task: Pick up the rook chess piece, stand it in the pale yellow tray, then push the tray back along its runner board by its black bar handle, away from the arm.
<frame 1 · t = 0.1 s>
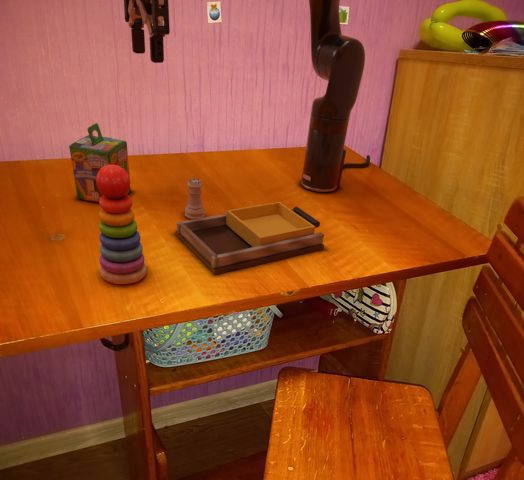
hand: (147, 57, 88), 29 cm above the table, tool pointing down, fingers open, 8 cm apart
rook chess piece: (194, 217, 106), on the table
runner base: (249, 242, 99), on the table
chalk box: (105, 196, 110), on the table
stacking toy: (124, 275, 86), on the table
tray: (276, 224, 100), point 3 cm above the table, slide at 0.0 cm
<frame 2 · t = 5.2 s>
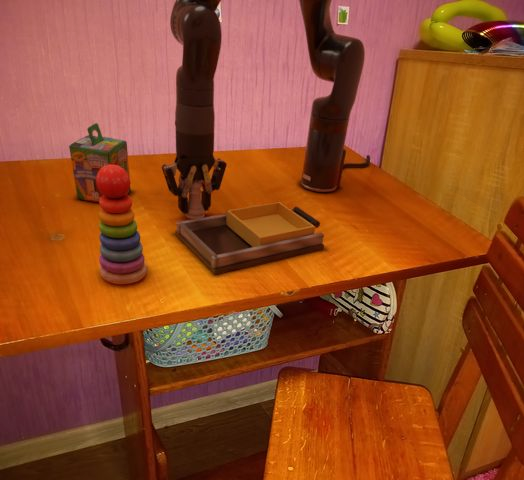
hand: (194, 210, 105), 1 cm above the table, tool pointing down, fingers closed on rook chess piece, 4 cm apart
rook chess piece: (194, 217, 106), on the table, touching gripper
everything else where it was.
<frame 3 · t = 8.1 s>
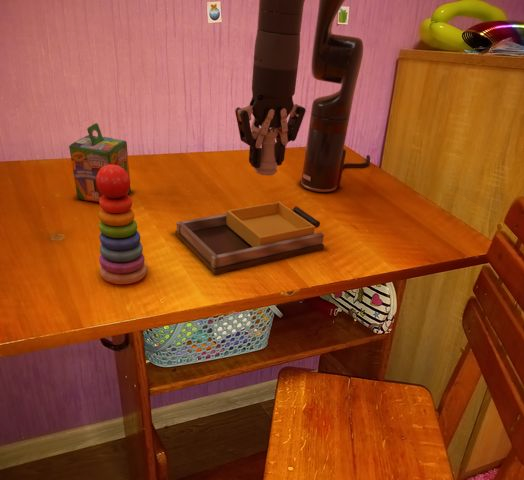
hand: (266, 165, 93), 15 cm above the table, tool pointing down, fingers closed on rook chess piece, 4 cm apart
rook chess piece: (265, 172, 94), point 13 cm above the table, touching gripper
everything else where it was.
when the fingers open (3 cm above the table, at t = 11.2 s): rook chess piece stays where it is, resting on tray.
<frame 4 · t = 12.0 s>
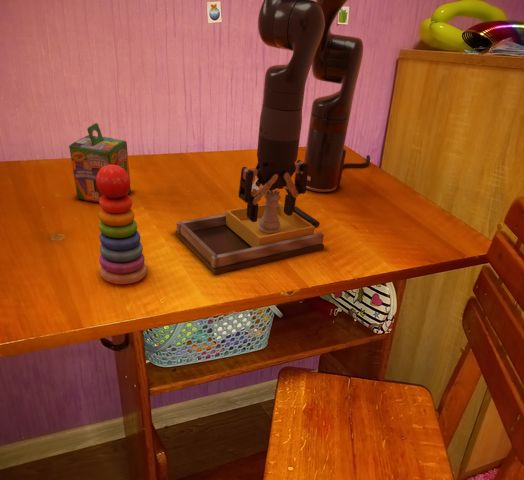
hand: (270, 217, 98), 5 cm above the table, tool pointing down, fingers open, 8 cm apart
rook chess piece: (268, 230, 100), point 2 cm above the table, touching tray
tray: (276, 224, 100), point 3 cm above the table, slide at 0.1 cm, touching rook chess piece
everything else where it was.
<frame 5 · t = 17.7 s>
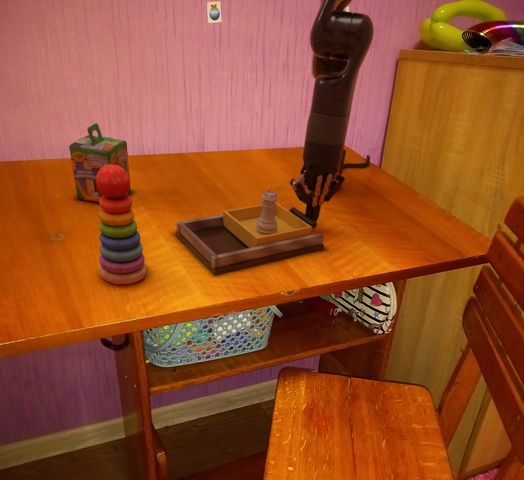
hand: (311, 221, 105), 2 cm above the table, tool pointing down, fingers closed
tray: (273, 224, 100), point 3 cm above the table, slide at 0.8 cm, touching gripper, rook chess piece
everything else where it was.
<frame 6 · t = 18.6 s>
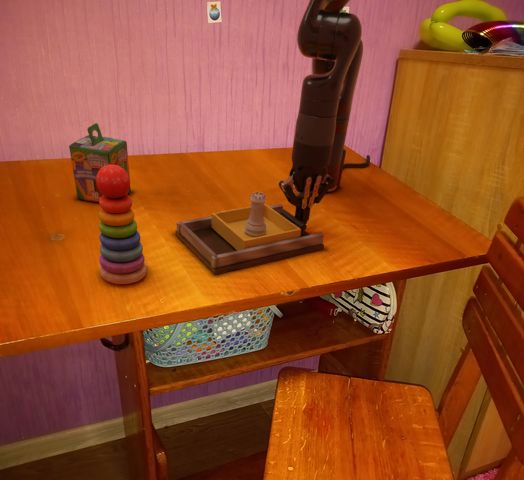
hand: (301, 223, 104), 2 cm above the table, tool pointing down, fingers closed
rook chess piece: (255, 233, 99), point 2 cm above the table, touching tray
tray: (262, 226, 99), point 3 cm above the table, slide at 3.5 cm, touching gripper, rook chess piece
everything else where it was.
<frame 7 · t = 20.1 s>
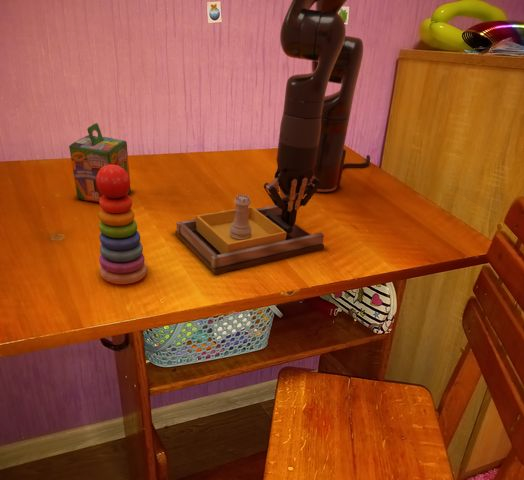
hand: (287, 225, 102), 2 cm above the table, tool pointing down, fingers closed
rook chess piece: (240, 236, 97), point 2 cm above the table, touching tray
tray: (247, 229, 97), point 3 cm above the table, slide at 7.0 cm, touching gripper, rook chess piece
everything else where it was.
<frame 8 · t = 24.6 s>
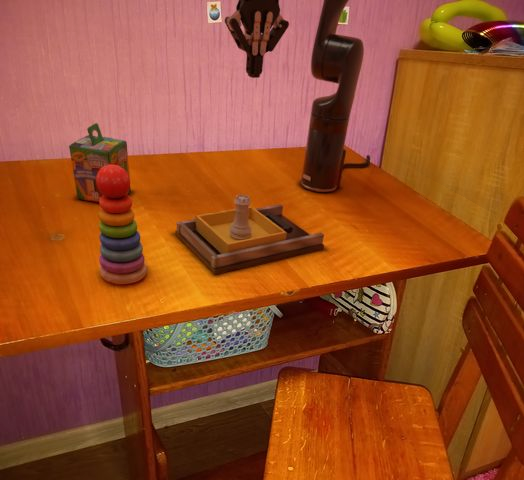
hand: (253, 76, 94), 27 cm above the table, tool pointing down, fingers closed
tray: (247, 229, 97), point 3 cm above the table, slide at 7.0 cm, touching rook chess piece
everything else where it was.
at the end: tray slide at 7.0 cm; rook chess piece inside the target area on the tray (0.1 cm from its centre), point 1.7 cm above the tray's base; rook chess piece tilted 0° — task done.
